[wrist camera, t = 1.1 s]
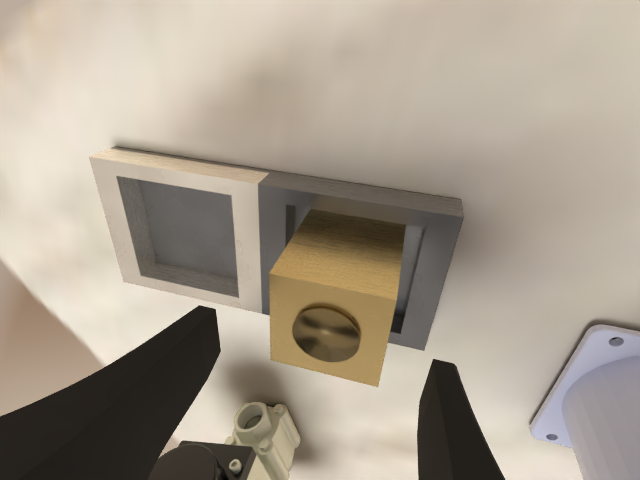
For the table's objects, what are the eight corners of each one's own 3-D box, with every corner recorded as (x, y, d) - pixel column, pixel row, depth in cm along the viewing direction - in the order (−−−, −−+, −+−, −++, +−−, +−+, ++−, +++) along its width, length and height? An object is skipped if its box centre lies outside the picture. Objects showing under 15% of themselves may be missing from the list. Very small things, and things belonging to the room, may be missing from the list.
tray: (460, 199, 15) (463, 217, 13) (424, 327, 18) (424, 350, 17) (114, 146, 18) (89, 156, 16) (142, 265, 21) (123, 281, 20)
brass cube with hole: (405, 225, 16) (396, 303, 11) (390, 301, 18) (377, 391, 13) (310, 209, 16) (266, 276, 12) (306, 283, 19) (268, 363, 14)
